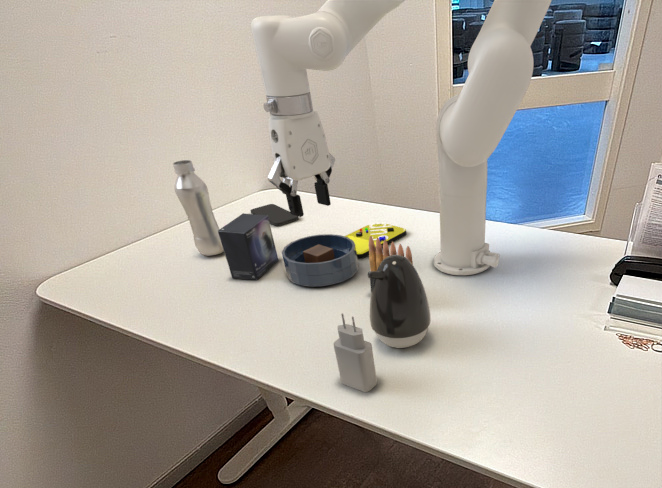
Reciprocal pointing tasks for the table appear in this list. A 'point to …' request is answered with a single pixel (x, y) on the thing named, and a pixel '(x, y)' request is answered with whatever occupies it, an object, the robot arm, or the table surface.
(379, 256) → the ammunition clip
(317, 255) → the block
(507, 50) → the robot arm
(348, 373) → the power adapter
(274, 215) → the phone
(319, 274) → the bowl
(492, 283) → the table surface
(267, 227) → the small box
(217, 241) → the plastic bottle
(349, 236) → the yellow toy board
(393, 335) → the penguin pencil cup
